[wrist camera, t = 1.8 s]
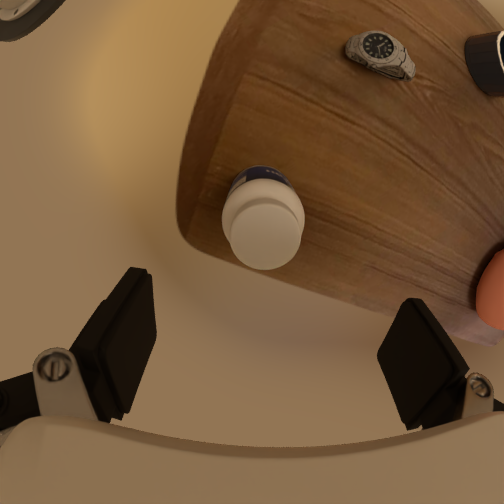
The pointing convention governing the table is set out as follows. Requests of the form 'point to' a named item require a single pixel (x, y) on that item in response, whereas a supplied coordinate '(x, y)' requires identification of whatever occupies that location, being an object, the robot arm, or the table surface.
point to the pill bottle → (263, 218)
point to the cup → (487, 62)
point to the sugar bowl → (492, 293)
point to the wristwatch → (381, 55)
